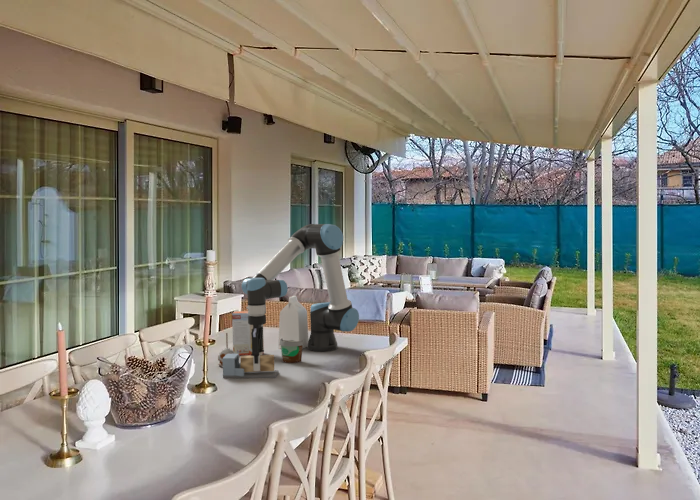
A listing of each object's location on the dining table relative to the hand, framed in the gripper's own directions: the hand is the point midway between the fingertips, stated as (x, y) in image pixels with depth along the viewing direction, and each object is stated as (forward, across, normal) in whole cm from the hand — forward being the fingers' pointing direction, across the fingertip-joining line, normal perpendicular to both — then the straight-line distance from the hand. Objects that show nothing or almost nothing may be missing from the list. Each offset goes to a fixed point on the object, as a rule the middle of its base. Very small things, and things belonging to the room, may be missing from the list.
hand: (258, 369), depth 260 cm
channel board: (+3, 0, -3) cm, 4 cm away
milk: (+3, -54, +8) cm, 55 cm away
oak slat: (+1, 0, 0) cm, 1 cm away
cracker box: (+3, -38, -12) cm, 40 cm away
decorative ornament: (+3, -16, -17) cm, 24 cm away
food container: (+3, -23, +10) cm, 25 cm away
